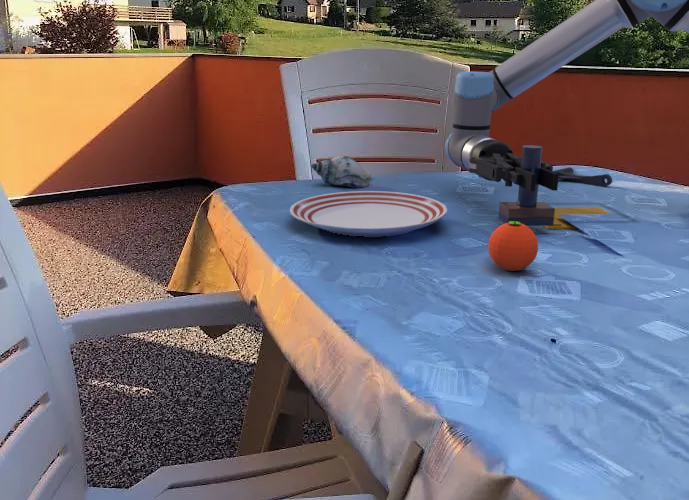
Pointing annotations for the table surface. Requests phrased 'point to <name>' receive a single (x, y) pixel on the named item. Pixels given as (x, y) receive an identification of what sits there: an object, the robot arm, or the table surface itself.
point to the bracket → (583, 177)
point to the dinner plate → (369, 212)
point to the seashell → (342, 172)
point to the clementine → (513, 246)
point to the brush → (528, 196)
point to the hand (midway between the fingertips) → (544, 182)
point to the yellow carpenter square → (562, 223)
